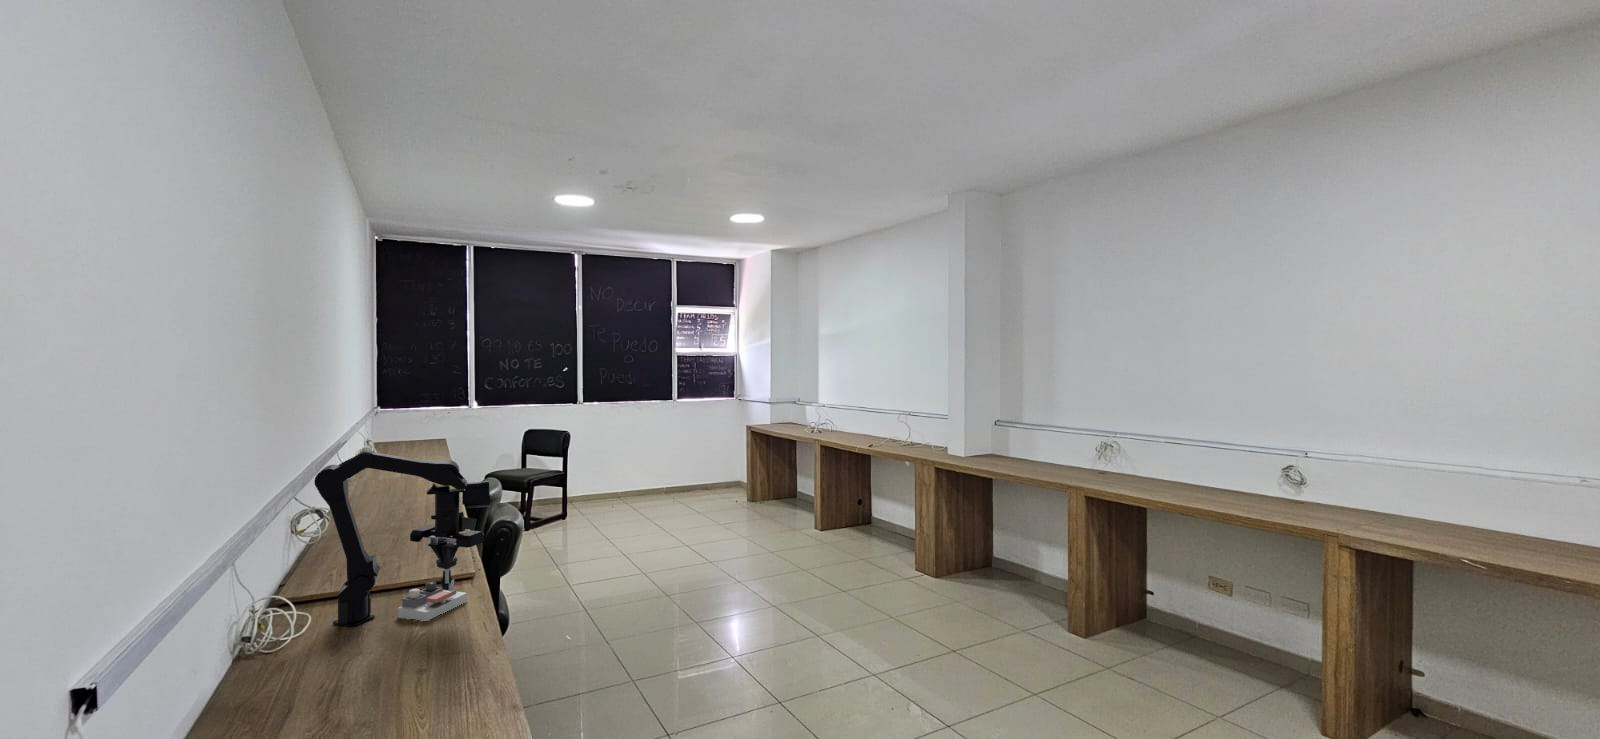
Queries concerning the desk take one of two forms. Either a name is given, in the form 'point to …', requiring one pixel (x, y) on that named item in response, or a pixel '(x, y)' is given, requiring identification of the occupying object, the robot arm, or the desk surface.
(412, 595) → the button ivory
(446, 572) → the grey post with knob
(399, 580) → the desk surface
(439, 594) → the rocker
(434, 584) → the button black
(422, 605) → the panel
